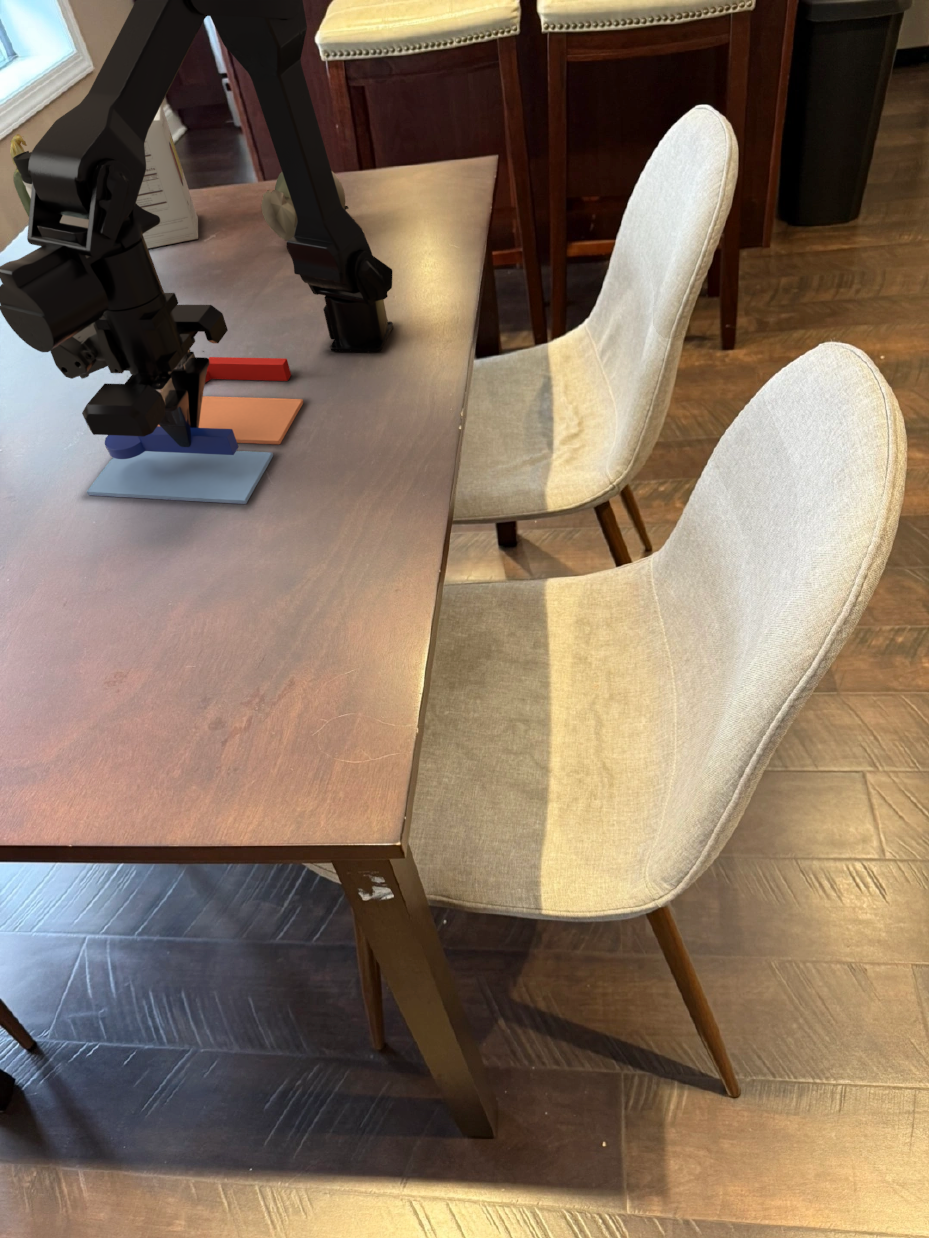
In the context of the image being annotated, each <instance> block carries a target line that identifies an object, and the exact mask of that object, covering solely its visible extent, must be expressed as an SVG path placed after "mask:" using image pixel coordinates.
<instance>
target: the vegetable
mask: <svg viewBox="0 0 929 1238" xmlns="http://www.w3.org/2000/svg"><path fill="white" fill-rule="evenodd" d="M9 143H10V149H9V152H10V157H11V160H12V161H11V162H12V163H13V165H14V166H15V167H16V169H15V170H14V172H13V184H14V188H15V191H16V193H17V196H18V198H19V200H20V202H21V204H22V206H23V208H24V211H25V213H26V215H27V217H28V218H29V213H30V202H31V198H30V196H29V194H28V192H27V190H26V186H25V185H24V183H23V180H22V177H21V174H20V173H19V171H18V169H17V166H16V164H15V162H14V160H13V158H14V157H15V156H16V155H18V154H21V153H23V152H26V151H25V149H24V147H23V146H25V147H27V146H28V145H27V142H26V140H24V137H23V136H22V135H21V134H20V133H16V134H15V135H14V136H13V137H12V139H11V140H10V142H9Z"/></svg>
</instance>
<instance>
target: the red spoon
mask: <svg viewBox="0 0 929 1238" xmlns="http://www.w3.org/2000/svg"><path fill="white" fill-rule="evenodd" d="M207 358H208V359H209V362H210V364H209V366H208V368H207V373H206V379H205V383H207V382H209V381H211V380H232V381H234V380H235V381H269V382H271V381H274V382H288V381H289V379H290V378H291V376H292V372H291V369H290V368H291V367H290V365H289V362H288V358H283V357H276V358H275V357H231V356H230V357H229V356H227V357H225V356H209V357H207Z"/></svg>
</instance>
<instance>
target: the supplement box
mask: <svg viewBox="0 0 929 1238" xmlns="http://www.w3.org/2000/svg"><path fill="white" fill-rule="evenodd" d="M170 129H171V128H170V126H169V123H168V120H167V115H166V113H165V110H164V107H163V103H162V104H161V106H160V108H159V110H158V112H157V114H156V116H155V118H154V120H153V122H152V124H151V126H150V128H149V130H148V133H147V136H146V139H145V143H144V148H145V158H146V172H145V175H144V178H143V182H142V185H141V188H140V191H139V194H138V197H137V201H136V204H137V205H138V206H140V207H141V208H143V209H144V210H146V211H148V212H150V213H152V214H155V215H158V216H159V217H160V223H159V224H158V225H157V226H155V227H153V228H152V229H150V230H148V231H147V232H145V233H144V234H143V237H144V240H145V242H146V245H147V248H148V249H152V248H158V247H162V246H166V245H168V246H169V245H172V244H178V243H182V242H188V241H194V240H198V239H199V217H198V213H197V212H196V211H197V210H196V208H195V204H194V201H193V199H192V195H191V192H190V189H189V186H188V182H187V179H186V177H185V174H184V170H183V167H182V163H181V161H180V158H179V154H178V151H177V149H176V145H175V141H174V139H173V135H172V132H171V130H170Z"/></svg>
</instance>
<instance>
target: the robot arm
mask: <svg viewBox="0 0 929 1238" xmlns="http://www.w3.org/2000/svg"><path fill="white" fill-rule="evenodd" d="M207 17H210V19H211V21H212V23H213V25H214V27H215V29H216V32H217V34H218V35H219V38H220V40H221V42H222V44H223V46H224V47H225V48H226V49H227V51H228V52H229V53H230V54H231V55H232V56H233V58H234V59H236V61H237V62H238V63H239V64H240V65H241V66H242V68H243V69H244V70H245V71H246V72H247V74H248V75H249V77H250V79H251V81H252V85H253V87H254V91H255V94H256V96H257V99H258V104H259V105H260V109H261V112H262V115H263V118H264V121H265V124H266V127H267V130H268V133H269V137H270V139H271V142H272V145H273V149H274V152H275V154H276V157H277V160H278V163H279V166H280V169H281V172H283V175H284V179H285V182H286V185H287V188H288V191H289V194H290V197H291V200H292V203H293V206H294V209H295V212H296V215H297V223H296V227H295V231H294V235H293V238H291V239H289V240H288V241H287V240H286V247H285V248H286V249H287V251H288V254H289V255H290V257H291V261H292V264H293V273H294V275H298V276H299V277H300V278H301V280H302V281H303V282H304V283H305V284H307V285H308V287H309V288H310V290H311V292H312V294H313V295H317V296H318V295H320V296H324V302H325V305H324V307H323V315H324V318H325V322H326V327H327V331H328V337H329V338H330V340H332V342H331V344H330V346H329V348H330V349H329V350H330V352H348V353H349V352H350V353H351V352H352V353H353V352H354V353H355V352H357V353H379V352H381V351H382V350H383V348H384V346H385V344H386V342H387V340H388V338H389V336H390V334H391V332H392V329H394V323H393V322H392V321H388V317H387V310H386V305H385V299H388V292H389V291H390V290H392V289H393V269H392V268H391V267H390V266H388V265H387V264H385V263H384V262H383V261H382V260H380V259H379V258H377V257H376V256H374V255H373V252H372V250H371V247H370V245H369V243H368V240H367V237H366V235H365V232H364V230H363V228H362V227H361V226H360V224H358V222H357V221H356V220H355V219H354V217H352V215H351V214H350V213H349V212H348V211H347V209H346V210H345V209H344V208H343V206H342V205H341V202H340V199H339V195H338V192H337V188H336V185H335V181H334V178H333V174H332V172H333V170H332V167H331V164H330V161H329V156H328V153H327V150H326V146H325V143H324V140H323V137H322V132H321V129H320V126H319V122H318V118H317V115H316V112H315V108H314V104H313V101H312V98H311V94H310V91H309V87H308V83H307V79H306V76H305V73H304V70H303V65H302V60H301V58H302V53H303V48H304V44H305V39H306V35H307V30H308V23H307V18H306V12H305V7H304V0H135V2H134V4H133V5H132V7H131V9H130V11H129V13H128V15H127V17H126V19H125V21H124V23H123V25H122V27H121V29H120V31H119V33H118V34H117V37H116V39H115V40H114V42H113V44H112V47H111V49H110V50H109V52H108V54H107V56H106V58H105V60H104V62H103V64H102V66H101V68H100V70H99V72H98V73H97V76H96V77H95V79H94V82H93V84H91V87H90V89H89V91H88V93H87V94H86V95H85V97H84V98H83V99H82V100H81V102H79V103H78V104H77V105H76V106H75V107H73V108H71V109H70V110H69V111H67V112H66V113H64V114H63V115H61V116H60V117H59V118H57V119H56V120H54V122H53V123H52V125H51V126H50V127H49V128H48V130H46V132H45V133H44V135H43V136H42V137H41V138H40V140H39V141H38V142H37V143H36V144H35V146H34V148H33V149H32V151H31V152H32V153H31V156H30V159H29V165H28V172H29V174H30V175H31V177H32V190H31V202H30V213H29V217H28V227H27V236H26V237H27V239H26V240H27V243H28V244H29V245H31V246H36V247H38V248H36V249H35V250H32V251H31V252H29V253H27V254H25V255H24V256H21V257H20V258H18V259H15V260H11V261H7V262H6V263H3V264H2V265H0V282H1V283H2V284H0V312H1V315H2V316H3V318H4V320H5V321H6V323H7V324H8V325H9V327H10V328H11V329H12V331H13V332H14V333H15V334H16V335H17V336H18V338H19V339H21V340H22V341H23V342H24V343H25V344H26V345H28V346H29V347H31V348H32V349H34V350H36V351H37V352H41V353H49V352H50V354H51V357H52V360H53V362H54V365H55V366H56V368H57V369H58V370H59V371H60V372H61V373H62V375H63V376H64V377H66V378H68V379H71V380H72V379H75V378H77V377H80V378H81V379H87V378H89V377H90V374H93V373H95V372H97V371H99V370H103V369H104V368H108V370H109V372H110V374H123V373H124V372H129V374H130V377H129V378H128V379H127V380H126V382H125V383H107V382H106V383H104V384H103V385H102V386H101V387H100V388H99V389H98V391H97V392H96V393H95V394H94V396H92V398H91V399H90V400H89V401H88V403H86V405H85V407H84V408H83V411H82V412H81V415H82V416H83V418H84V421H85V423H86V424H87V426H88V428H89V430H90V432H91V434H92V435H95V436H96V435H97V436H108V435H119V436H146V435H149V434H151V433H153V432H154V430H155V429H156V427H157V426H158V425H160V426H161V427H162V428H163V429H164V430H165V431H166V432H167V434H168V435H169V436H170V437H171V438H172V439H173V440H174V441H175V442H176V443H177V444H178V445H179V446H181V447H190V445H191V428H199V421H200V413H201V405H202V398H203V396H204V391H205V384H206V382H205V379H206V373H207V368H208V366H209V364H210V362H209V359H208V358H209V357H203V356H202V357H198V356H197V357H196V355H195V352H194V351H191V349H192V347H193V345H194V344H195V343H196V339H195V336H196V335H198V333H200V332H201V333H204V335H205V338H206V341H208V342H210V343H211V344H219V343H220V342H221V340H222V339H223V338H224V336H225V335H226V334H227V332H228V326H227V323H226V320H225V317H224V314H223V312H222V311H220V310H219V309H218V308H216V307H215V306H214V305H213V304H179V300H178V298H177V294H176V292H165V291H164V288H163V286H162V283H161V279H160V277H159V275H158V271H157V269H156V267H155V264H154V260H153V259H152V256H151V253H150V250H149V248H147V245H146V242H145V240H144V237H143V234H144V233H145V232H147V231H148V230H150V229H152V228H153V227H155V226H157V225H158V224H159V223H160V217H159V216H158V215H155V214H152V213H150V212H148V211H146V210H144V209H143V208H141V207H140V206H138V205H137V204H136V201H137V197H138V194H139V191H140V188H141V185H142V182H143V178H144V175H145V172H146V158H145V148H144V143H145V139H146V136H147V133H148V130H149V128H150V126H151V124H152V122H153V120H154V118H155V116H156V114H157V112H158V110H159V108H160V106H161V104H162V105H163V103H164V100H165V99H166V96H167V95H168V92H169V91H170V88H171V86H172V84H173V83H174V80H175V78H176V76H177V74H178V72H179V70H180V68H181V66H182V65H183V62H184V61H185V59H186V57H187V55H188V52H189V50H190V48H191V47H192V45H193V42H194V40H195V38H196V37H197V34H198V32H199V30H200V28H201V27H202V24H203V22H204V20H205V19H206V18H207ZM63 215H65V216H71V217H76V218H82V219H87V220H89V224H88V228H85V227H80V226H75V225H69V224H64V223H60V221H61V218H62V216H63Z"/></svg>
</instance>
